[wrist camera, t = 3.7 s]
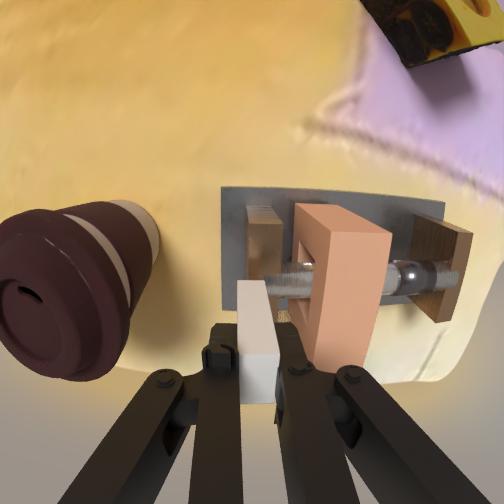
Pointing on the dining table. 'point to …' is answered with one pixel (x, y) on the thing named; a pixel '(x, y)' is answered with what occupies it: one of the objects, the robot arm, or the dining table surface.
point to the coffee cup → (73, 285)
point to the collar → (338, 283)
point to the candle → (437, 27)
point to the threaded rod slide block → (301, 273)
